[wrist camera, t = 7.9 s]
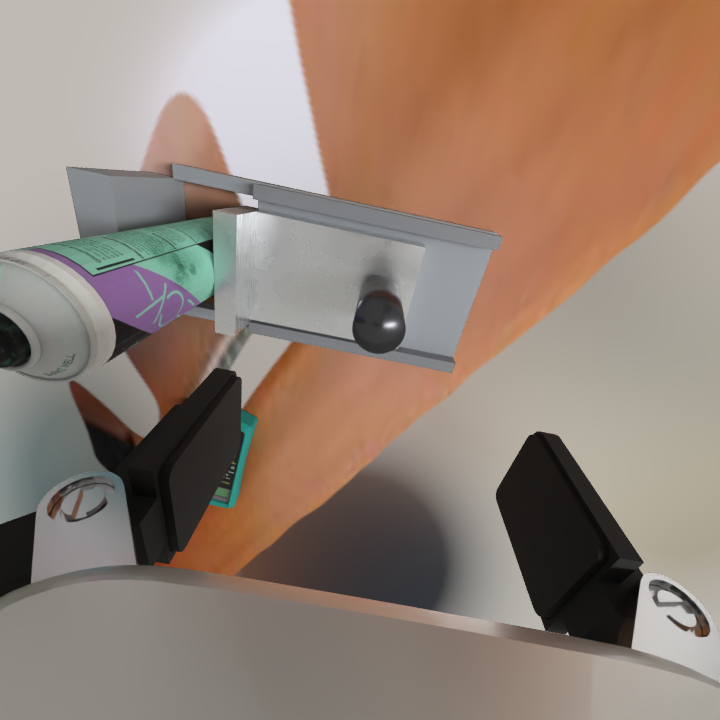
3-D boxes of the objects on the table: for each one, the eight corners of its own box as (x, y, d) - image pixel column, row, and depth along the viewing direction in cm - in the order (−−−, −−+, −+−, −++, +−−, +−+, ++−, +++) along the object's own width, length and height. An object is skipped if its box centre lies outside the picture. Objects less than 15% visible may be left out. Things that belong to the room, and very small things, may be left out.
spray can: (185, 269, 29) (-111, 391, 12) (192, 206, 27) (-172, 241, 9) (244, 290, 30) (47, 438, 12) (256, 230, 28) (31, 308, 10)
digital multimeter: (261, 410, 37) (251, 427, 34) (240, 495, 44) (230, 514, 41) (196, 390, 36) (182, 406, 34) (185, 479, 43) (172, 498, 40)
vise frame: (150, 157, 26) (61, 146, 18) (492, 231, 26) (532, 247, 19) (164, 303, 31) (100, 337, 24) (446, 360, 32) (464, 408, 25)
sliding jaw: (245, 205, 25) (182, 214, 17) (422, 243, 26) (440, 268, 18) (243, 308, 29) (190, 353, 21) (396, 339, 30) (402, 395, 22)
